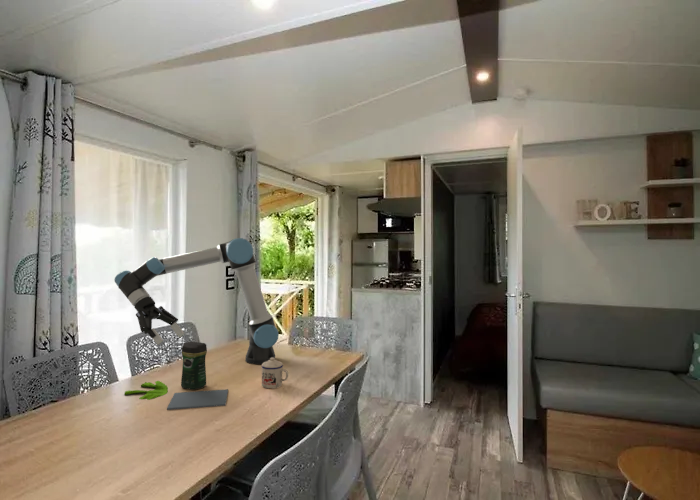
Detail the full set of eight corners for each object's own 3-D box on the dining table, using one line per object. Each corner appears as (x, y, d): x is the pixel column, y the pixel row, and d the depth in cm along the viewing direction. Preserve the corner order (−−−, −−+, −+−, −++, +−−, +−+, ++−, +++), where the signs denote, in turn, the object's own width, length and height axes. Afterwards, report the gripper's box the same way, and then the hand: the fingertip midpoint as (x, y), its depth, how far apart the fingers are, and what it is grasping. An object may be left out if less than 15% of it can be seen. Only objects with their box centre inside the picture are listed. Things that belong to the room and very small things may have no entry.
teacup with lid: (256, 387, 161) (257, 359, 161) (267, 380, 170) (268, 354, 170) (283, 391, 158) (283, 362, 158) (292, 383, 167) (293, 356, 167)
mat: (227, 390, 157) (227, 389, 157) (225, 405, 142) (225, 403, 142) (174, 394, 152) (174, 392, 152) (166, 409, 137) (166, 408, 137)
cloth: (152, 404, 144) (152, 397, 144) (102, 397, 148) (102, 391, 148) (185, 385, 164) (186, 379, 164) (141, 380, 168) (141, 374, 168)
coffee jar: (209, 385, 163) (210, 341, 163) (195, 391, 155) (196, 345, 155) (191, 381, 166) (192, 338, 166) (177, 388, 159) (178, 342, 159)
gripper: (157, 303, 179) (184, 338, 176) (113, 311, 155) (144, 352, 151) (167, 292, 178) (195, 327, 174) (124, 299, 153) (156, 339, 150)
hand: (171, 339), depth 163 cm, fingers open, 13 cm apart
